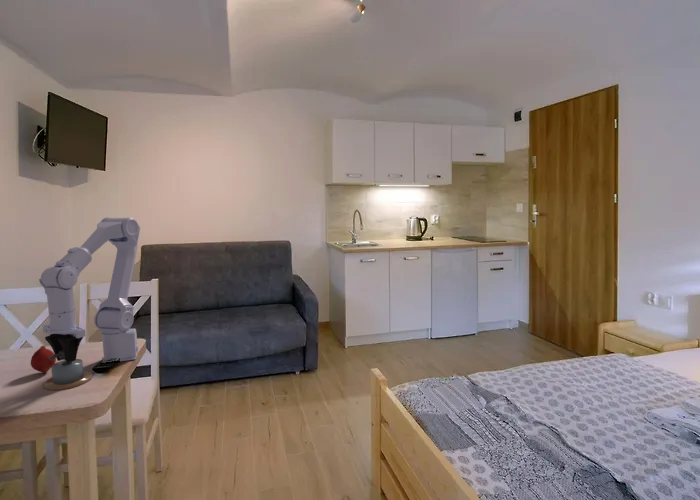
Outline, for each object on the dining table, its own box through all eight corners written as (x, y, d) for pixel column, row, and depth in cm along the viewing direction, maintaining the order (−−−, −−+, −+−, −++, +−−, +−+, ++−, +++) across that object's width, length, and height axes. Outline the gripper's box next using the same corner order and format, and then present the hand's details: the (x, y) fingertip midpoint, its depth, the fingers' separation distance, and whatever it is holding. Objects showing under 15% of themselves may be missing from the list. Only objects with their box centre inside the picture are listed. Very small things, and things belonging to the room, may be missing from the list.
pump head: (75, 358, 115) (74, 347, 115) (70, 364, 111) (69, 353, 111) (54, 360, 114) (53, 350, 113) (49, 367, 109) (48, 356, 109)
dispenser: (95, 370, 121) (94, 352, 120) (88, 385, 111) (86, 365, 110) (50, 377, 117) (48, 358, 116) (38, 393, 107) (36, 372, 106)
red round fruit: (37, 378, 116) (34, 350, 115) (28, 374, 119) (25, 347, 118) (60, 371, 121) (58, 344, 120) (51, 367, 124) (48, 341, 123)
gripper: (28, 312, 111) (33, 362, 112) (64, 317, 105) (69, 369, 107) (56, 306, 117) (60, 353, 119) (91, 310, 112) (95, 359, 113)
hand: (66, 360), depth 113 cm, fingers closed on pump head, 3 cm apart
